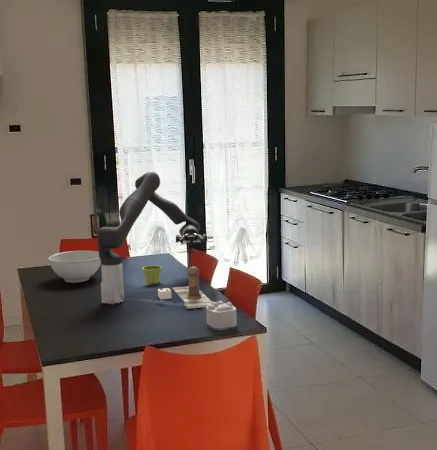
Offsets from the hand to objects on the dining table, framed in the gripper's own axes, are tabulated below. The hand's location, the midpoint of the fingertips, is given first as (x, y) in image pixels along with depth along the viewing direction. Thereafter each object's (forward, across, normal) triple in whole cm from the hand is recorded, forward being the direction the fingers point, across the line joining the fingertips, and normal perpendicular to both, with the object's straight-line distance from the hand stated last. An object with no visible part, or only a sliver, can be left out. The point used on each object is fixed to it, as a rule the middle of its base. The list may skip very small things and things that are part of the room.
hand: (191, 241), depth 291 cm
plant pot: (-20, -19, +25) cm, 37 cm away
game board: (+7, -1, +25) cm, 26 cm away
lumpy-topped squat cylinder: (+44, +9, +26) cm, 52 cm away
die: (+8, -13, +25) cm, 29 cm away
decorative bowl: (-37, -57, +25) cm, 73 cm away
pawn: (+10, 0, +23) cm, 26 cm away
